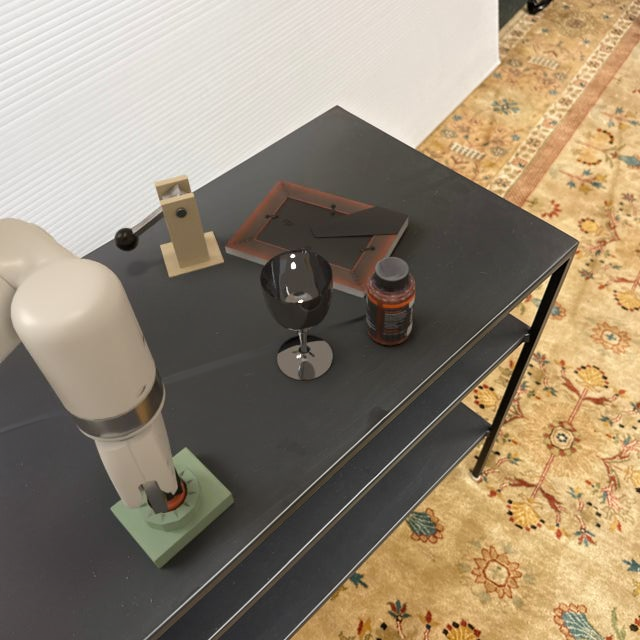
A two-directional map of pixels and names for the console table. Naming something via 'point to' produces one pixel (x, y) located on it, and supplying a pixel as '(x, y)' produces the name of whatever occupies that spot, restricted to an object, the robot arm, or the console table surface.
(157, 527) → the button box
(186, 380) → the console table surface
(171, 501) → the button
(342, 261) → the picture frame
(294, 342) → the wine glass
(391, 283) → the supplement bottle
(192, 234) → the toaster bracket
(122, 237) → the lever
